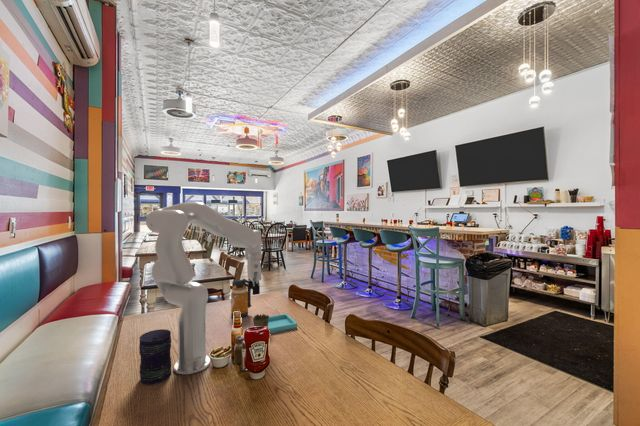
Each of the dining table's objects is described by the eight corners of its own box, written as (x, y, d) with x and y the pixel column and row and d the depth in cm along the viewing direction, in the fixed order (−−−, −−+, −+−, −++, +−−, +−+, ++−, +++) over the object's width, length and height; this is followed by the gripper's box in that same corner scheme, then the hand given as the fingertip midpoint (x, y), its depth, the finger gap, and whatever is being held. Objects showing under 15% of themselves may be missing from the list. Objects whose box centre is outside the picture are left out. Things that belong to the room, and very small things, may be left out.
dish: (297, 328, 145) (297, 323, 145) (267, 334, 138) (267, 329, 138) (286, 318, 159) (286, 313, 158) (258, 323, 152) (258, 318, 152)
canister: (230, 314, 165) (229, 278, 164) (250, 311, 169) (249, 276, 169) (232, 319, 157) (232, 282, 156) (253, 316, 161) (253, 280, 161)
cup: (265, 337, 135) (265, 320, 135) (250, 336, 136) (250, 319, 136) (271, 330, 142) (271, 314, 142) (257, 329, 144) (256, 313, 144)
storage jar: (143, 372, 107) (142, 331, 106) (173, 367, 110) (172, 327, 110) (136, 388, 97) (136, 343, 97) (169, 381, 101) (169, 338, 101)
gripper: (265, 258, 134) (266, 295, 134) (257, 252, 149) (257, 286, 150) (249, 259, 130) (249, 297, 131) (242, 253, 146) (242, 287, 147)
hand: (253, 291), depth 140 cm, fingers open, 9 cm apart
